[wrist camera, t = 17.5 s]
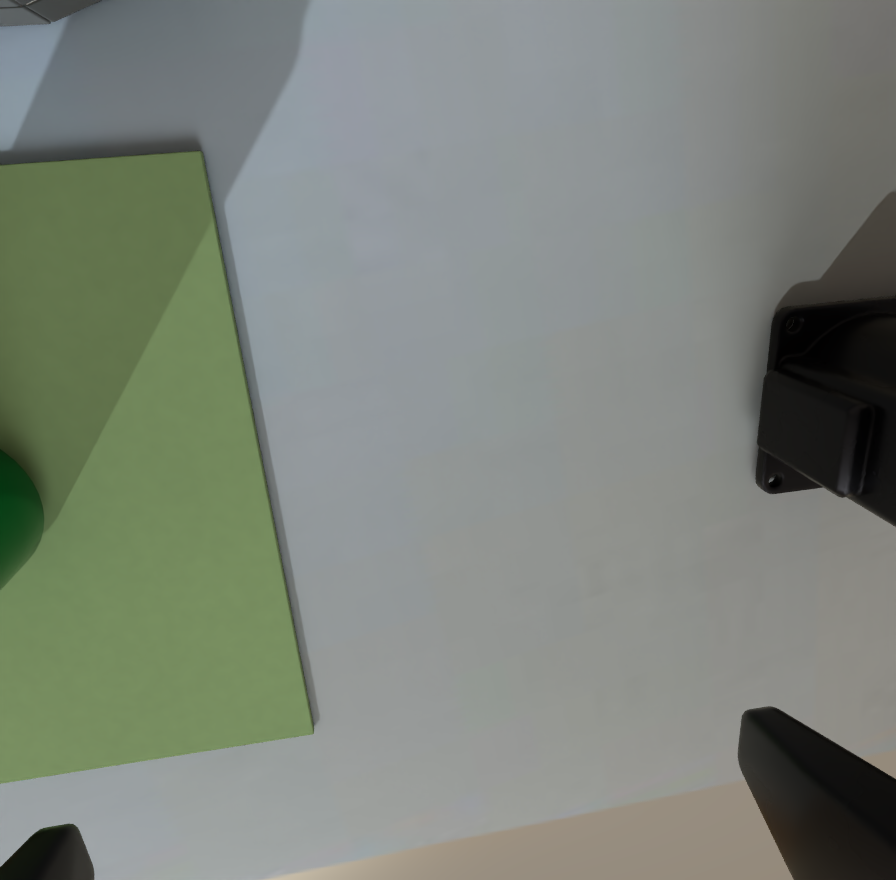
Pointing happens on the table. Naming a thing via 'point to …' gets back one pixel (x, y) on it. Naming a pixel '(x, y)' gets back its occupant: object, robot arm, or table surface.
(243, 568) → the napkin
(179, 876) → the table surface
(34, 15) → the pan
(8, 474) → the soda can
